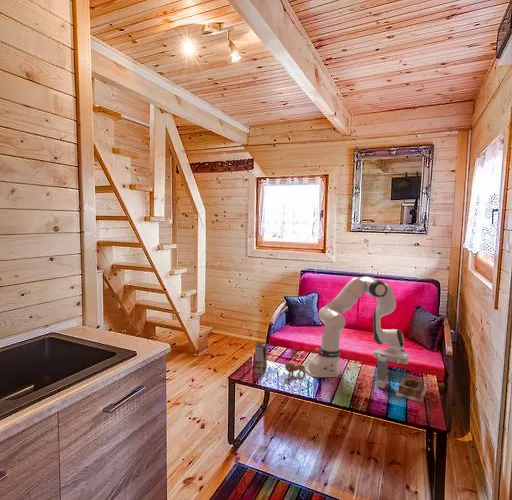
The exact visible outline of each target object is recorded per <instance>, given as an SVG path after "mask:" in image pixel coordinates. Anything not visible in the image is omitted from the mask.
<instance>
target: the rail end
mask: <svg viewBox="0 0 512 500" xmlns="http://www.w3.org/2000/svg"><path fill="white" fill-rule="evenodd" d="M388 362H389V360H388V358H385V357H380V358H377V366H376V367H377V369H376V370H377V371H376V380H375V381H376V383H375V384H376V385H375V386H376V387H378V388H382V389H386V386H387V385H388V365H389V363H388Z"/></svg>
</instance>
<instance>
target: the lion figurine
mask: <svg viewBox="0 0 512 500" xmlns="http://www.w3.org/2000/svg"><path fill="white" fill-rule="evenodd" d="M284 368H285V370H286V371H287V372H288V376H290V377H291V378H293V377H294V372H297V371H298V372H297V375H299V374H300V373H303V376H304V377H305V376H306V374H307V372H306V371H305V365H303V364H302V363H298V364H294V363H292V362H289V361H287V362H286V363H285V367H284Z"/></svg>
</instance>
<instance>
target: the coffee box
mask: <svg viewBox="0 0 512 500" xmlns="http://www.w3.org/2000/svg"><path fill="white" fill-rule="evenodd" d="M267 366H268V343H267V342H257V343H256V344H255V348H254V373H255V374H265V373H266V370H267V368H268V367H267Z"/></svg>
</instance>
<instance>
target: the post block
mask: <svg viewBox="0 0 512 500" xmlns="http://www.w3.org/2000/svg"><path fill="white" fill-rule="evenodd" d="M424 385H425V382H424V381H422V380H417V379H414V378H410V377H405V376H403V377H402V380H401V381H400V382H399V384H398V388H397V390H396V392H395V394H394V395H395V396H398V397H401V398H406V399H409V400H413V401H416V402H419V403H423V402H424V401H423V400H424V398H425V396H426V393H427V390H428V389H427V388H425V386H424Z"/></svg>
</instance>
